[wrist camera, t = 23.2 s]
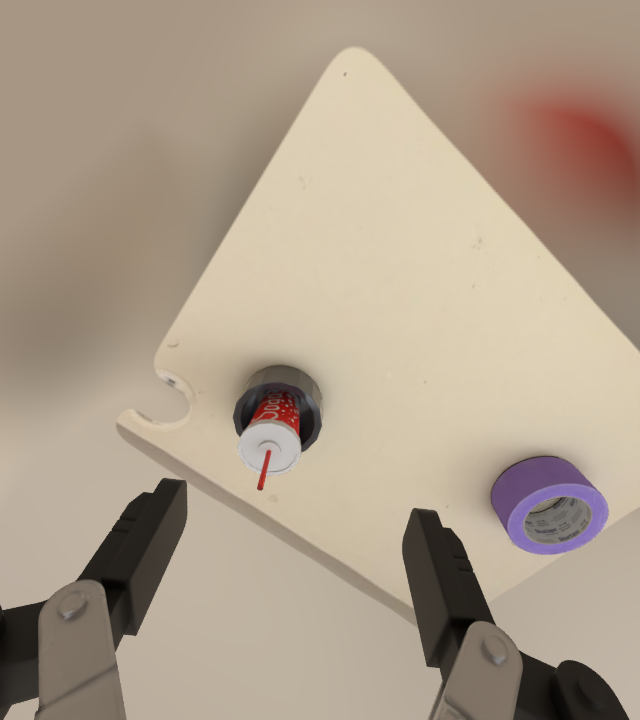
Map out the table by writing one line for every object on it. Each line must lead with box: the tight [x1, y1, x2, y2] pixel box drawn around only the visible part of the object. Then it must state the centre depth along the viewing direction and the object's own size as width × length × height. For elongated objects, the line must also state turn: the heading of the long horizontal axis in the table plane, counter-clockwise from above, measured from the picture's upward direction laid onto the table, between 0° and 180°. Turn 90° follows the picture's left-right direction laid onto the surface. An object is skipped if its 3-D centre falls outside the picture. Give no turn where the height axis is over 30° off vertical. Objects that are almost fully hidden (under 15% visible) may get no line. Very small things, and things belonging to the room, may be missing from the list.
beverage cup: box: [238, 389, 301, 491], centre depth 35 cm, size 6×6×14 cm
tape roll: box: [491, 457, 609, 555], centre depth 45 cm, size 12×12×5 cm
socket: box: [233, 366, 322, 452], centre depth 40 cm, size 10×10×4 cm
